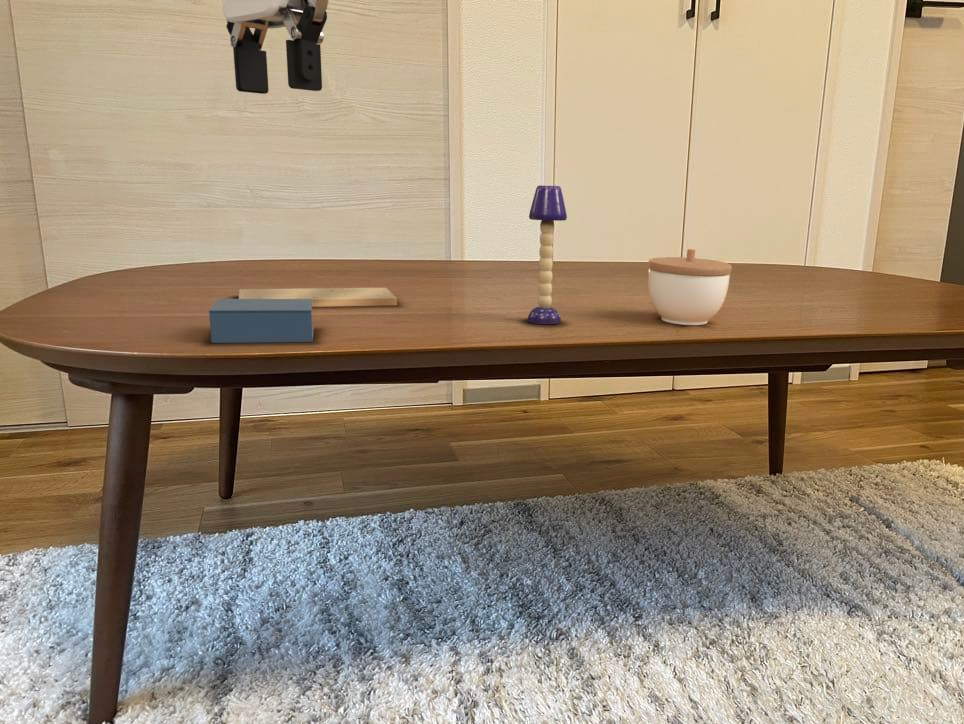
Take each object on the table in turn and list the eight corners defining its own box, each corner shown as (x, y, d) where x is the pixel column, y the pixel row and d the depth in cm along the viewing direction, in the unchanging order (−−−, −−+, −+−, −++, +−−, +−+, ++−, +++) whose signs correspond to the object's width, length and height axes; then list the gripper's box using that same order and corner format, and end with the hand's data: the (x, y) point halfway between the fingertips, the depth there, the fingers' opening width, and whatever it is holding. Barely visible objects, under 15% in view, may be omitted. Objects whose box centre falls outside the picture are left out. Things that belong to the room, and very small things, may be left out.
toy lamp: (517, 319, 99) (522, 184, 94) (543, 316, 102) (549, 184, 97) (544, 326, 96) (550, 186, 91) (569, 322, 99) (577, 186, 94)
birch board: (239, 308, 98) (238, 300, 98) (239, 296, 106) (239, 288, 106) (397, 305, 105) (397, 298, 105) (386, 294, 113) (386, 287, 113)
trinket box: (661, 310, 110) (667, 243, 108) (735, 320, 105) (743, 250, 103) (630, 321, 102) (636, 248, 99) (709, 332, 96) (718, 256, 94)
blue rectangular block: (211, 343, 80) (208, 310, 79) (220, 329, 86) (218, 298, 85) (312, 341, 82) (311, 310, 81) (313, 328, 89) (312, 298, 88)
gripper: (181, -107, 72) (198, 90, 78) (277, -149, 61) (290, 84, 66) (257, -87, 78) (268, 96, 83) (357, -122, 67) (363, 92, 72)
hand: (278, 91), depth 75 cm, fingers open, 9 cm apart
